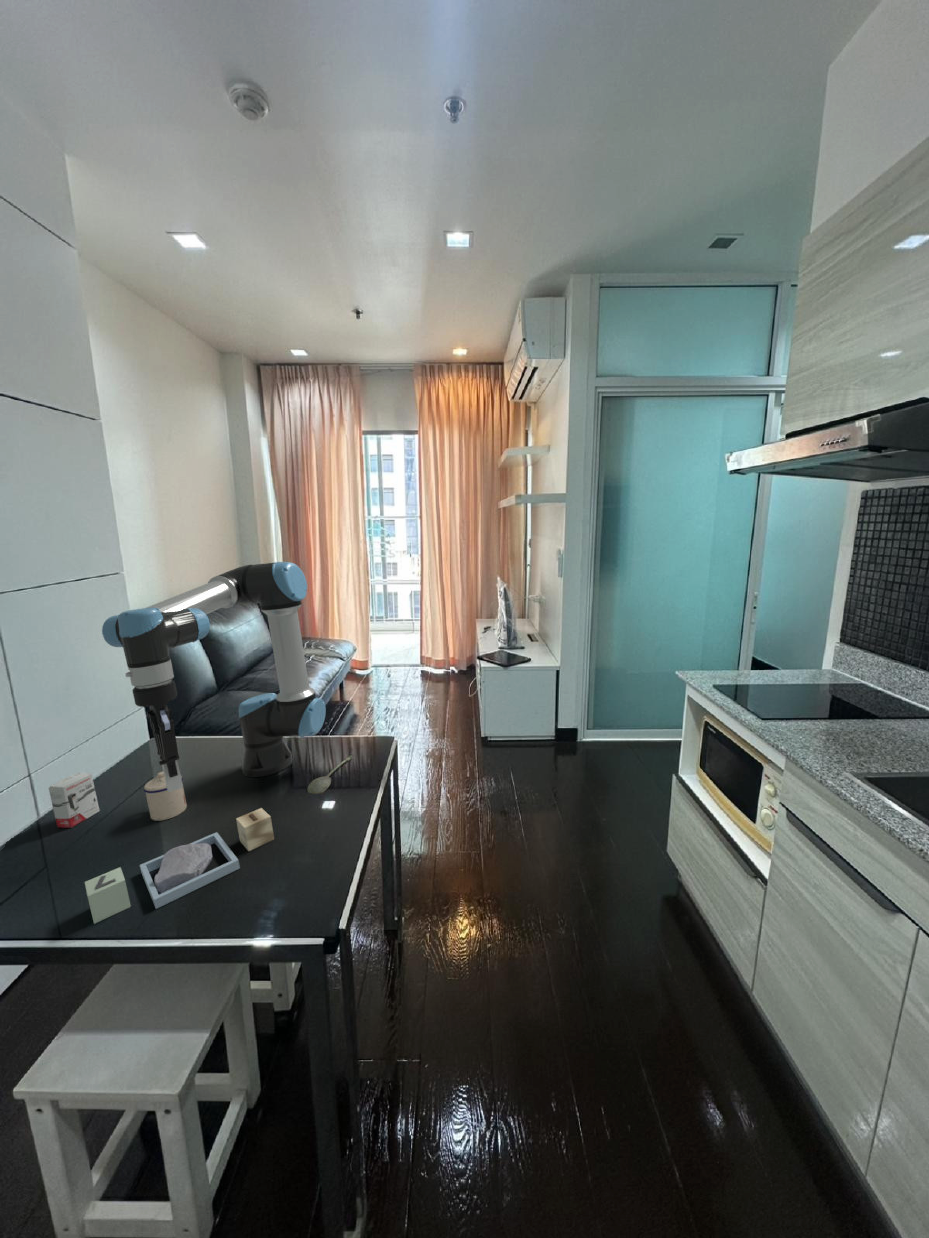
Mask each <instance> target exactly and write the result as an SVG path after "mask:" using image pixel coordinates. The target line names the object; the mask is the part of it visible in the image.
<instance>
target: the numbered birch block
mask: <svg viewBox="0 0 929 1238" xmlns="http://www.w3.org/2000/svg"><path fill="white" fill-rule="evenodd" d="M271 817H272V816H271V815H270V814H268V813H267V811H265V810H264V809H263V808H262V807H260V808H258V809H256V810H254V811H253V810H252V811H251V812H248V813H246V814H243V815H241V816H239V817H236V818H235V820H236V826H237V827H236V828H237V832H238V837H239V843H241V844H242V845H243V847H244V848H245V849H246V850H247V851H248V852H250V851H253V850H255V849H257V848H259V847H261V846H263V845H266V844H267V843H269V842H271V841H274V840H275V834H274V829H273V823H272V822H273V821H272V818H271Z"/></svg>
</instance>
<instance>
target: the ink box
mask: <svg viewBox="0 0 929 1238" xmlns="http://www.w3.org/2000/svg"><path fill="white" fill-rule="evenodd" d="M48 793H49V797H50V802H51V806H52V810H53V813H54V819H55V823H56V826H57V828H65V829H66V828H67V829H69V828H70V829H71V828H74V827H75V826H77V825H79V824H80V823H83V822H84V821H86V820H87V819H89V818H90V817H92V816H94V815H95V814H97V813H99V812H101V811H100V807H99V802H98V797H97V793H96V788H95V784H94V779H93V775H92V772H76V773H73V774H72V775H69V776H67V777H65V778H64V779H61V780H59V781H57V782H55V783H53V784H51V785H50V786H49V787H48Z"/></svg>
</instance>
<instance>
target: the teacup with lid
mask: <svg viewBox="0 0 929 1238" xmlns="http://www.w3.org/2000/svg"><path fill="white" fill-rule="evenodd" d="M181 780H182V781H183V776H182V775H181ZM182 785H183V786H184V784H183V782H182ZM143 791H144V792H145V797H146V800H147V801H146V802H147V806H148V807H147V808H148V810H149V815H150V819H151V820H152V821H159V822H160V821H166V820H168V819H172V818H174V817H177V816H179V815H181V814H182V813H184V812H185V810H186V809H187V807H188V804H187V800H186V794H185V790H184V787H183V788H180V789H177V790H174V791H172V792H168V791H167V786H166V782H165V777H164V772H163V771H160V772H158V773H157V774H156V776H155V777H154V778H153V779H150V780H149V781H147V782H146V783H145V785H144V787H143Z"/></svg>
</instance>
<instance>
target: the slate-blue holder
mask: <svg viewBox="0 0 929 1238" xmlns="http://www.w3.org/2000/svg"><path fill="white" fill-rule="evenodd" d="M196 843H206V844H209V845H210V846H212V845H216V847H217V848H218V849H219V851H220V852H221V853H222V855H223V856H224V857H225V859H226V860H227V861H228V862H225V863H223V864H221V865H220V866H217V867H215V868H213V869H211V870H209V871H207V872H203V873H202V875H200V876H198V877H196V878H194V879H191V880H189V881H187V882H185V883H183V884H181V885H179V886H177V887H174V888H172V889H170V890H168V891H166V892H164V893H162V894H160V893H159V892H157V890H156V887H155V882H154V881H153V878H152V876H151V874H150V872H153V871H155V870H157V869H160V866H161V862H162V859H163V857H164V854H162V855H160V856H158V857H156V858H153V859H151V860H148V861H146V862H144V863H141V864H139V869H140V873H141V875H142V878H143V880H144V883H145V885H146V888H147V890H148V892H149V895H150V898H151V900H152V902H153V905H154V908H155V910H157V909H159V908H161V907H163V906H165V905H167V904H169V903H172V902H174V901H176V900H178V899H180V898H181V897H184V896H186V895H189V894H190V893H192V892H194V891H196V890H198V889H200V888H203V887H204V886H206V885H208V884H210V883H212V882H215V881H216V880H219V879H221V878H222V877H225V876H227V875H229V874H231V873H234V872H235V871H237V870H239V869H241V866H240V862H239V861H240V860H239V859H238V857H237V856H236V855H235V854H234V852H233V850H231V848H230V847H229V846H228V844H227V843H226V842H225V840H224V839H223V838H222V837H221V835H220V834H219V833H218V832H217V831H216V832H214V833H212V834H209V835H206V836H204V837H202V838H200V839H197V840H195V841H193V842H190V843H189V844H196Z"/></svg>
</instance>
